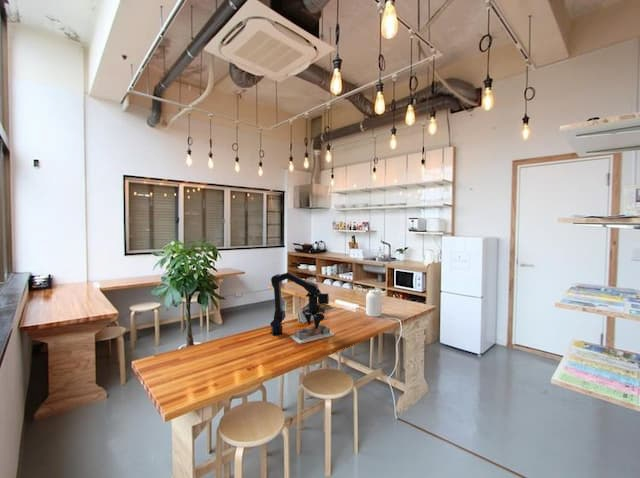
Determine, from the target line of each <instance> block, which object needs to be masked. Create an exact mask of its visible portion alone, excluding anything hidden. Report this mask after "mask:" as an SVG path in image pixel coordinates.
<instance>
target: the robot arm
mask: <svg viewBox="0 0 640 478" xmlns="http://www.w3.org/2000/svg"><path fill="white" fill-rule="evenodd" d="M286 280H289V281H291V282H293V283H295V284H296V285H298V286H300V287H302V288H303V289H305V291H306V292H307V294H305V297H306V298H307V297H308V304H307V307H305V308H306V309H305V308H302V309H303V310H302V309H301V310H302V313H303V315H304V316H305V318H306V320H307V322H306V323H307V325H308V326H310V325H311V322H312V321H313V324H314V326H315V328H316V329H318V326H319V325H320V323H321V321H323V320H325V315H324V314H325V311H326V308H325V307H323V306H321V305H329V303H330V297H329V292H328V293H322V292H321V290H320V289H319V285H318V284H316V283H314V282H312V281H311V282H310V281H306V280H305V279H304V278H302V277H299V276H298V275H296V274H294V273H292V272H291V271H288V272H284V273H282V274H281V273H277V274H275V275H273V276H272V277H271V278H270V282H271V285H272V289H273V294H274V310H275V311H274V313H273V320H272V321H271V322H270V323H269V324H270V327H271V329H270V330H271V331H270V332H269V333H270V334H271V335H272V336H279V335H283V334H284V333H283V325H282V323H283V321H284V320H285V318H286V317H287V316H286V310H283V305H282V289H281V288H282V283H283V281H286ZM312 315H313V318H314V319H313V320H312V321H311V316H312Z"/></svg>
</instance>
